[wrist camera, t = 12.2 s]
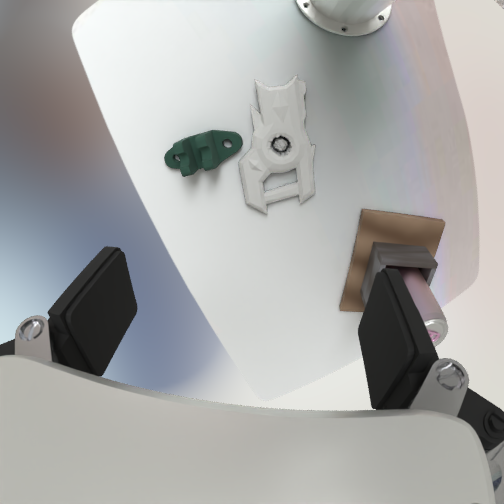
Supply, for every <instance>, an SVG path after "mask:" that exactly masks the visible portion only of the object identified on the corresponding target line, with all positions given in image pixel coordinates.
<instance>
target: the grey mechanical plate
mask: <svg viewBox="0 0 504 504" xmlns="http://www.w3.org/2000/svg"><path fill="white" fill-rule="evenodd" d="M255 85H256V91H257V96H258V102H259V108H260V113H259V112H258V111H257V110H256V109H255V108H254V107H253V106H252V105H250V107H251V113H252V119H253V126H254V133H253V136H252V146H251V148H250V149H249V151H248V152H247V153H246V154H245V155H244V156H243V157H242V158H241V159H240V160H239V169H240V174H241V179H242V184H243V190H244V195H245V200H246V204H248V205H250V206H252V207H254V208H256V209H258V210H259V211H261V212H263V213H265V214H267V205H266V204H269V203H272V202H275V201H279V200H282V199H286V198H290V197H293V196H297V195H299V201H300V204H301V203H302V202H304V201H305V200H306V199H308V198H309V197H311V196H312V195H313V194H315V185H314V174H313V158H314V153H315V147H316V145H315V144H314V145H312V146H311V144H310V140H309V138H308V135H307V133H306V130H305V127H304V120H305V118H306V110H305V102H304V95H305V93H306V84H305V81H303V80H298V76H297V75H296V76H295V77H294V78H293V79H291V80H290V81H289V82H288V83H287V84H286V85H282V86H274V87H268V86H266V85H264V84H262V83H261V82H259V81H257V80H255ZM280 135H281V136H283V137H284V136H285V138H288V140H289V142H290V145H289V147H290V148H288V149H287V151H284V152H282V150H285V148H287V147H286V146H287V145H288V144H287V141H285V140H284V139H283V138H278V137H279V136H280ZM275 137H276V138H278V139H276V141H275V142H274V147H275V148H277V149H278V151H280V152H278V151H275V149H274V148H273V147H272V146H271V145H272V144H271V141H273V139H274V138H275ZM295 168H296V173H297V182H294V183H291V184H287V185H284V186H281V187H277V188H274V189H271V190H268V191H265V192H264V186H263V181H264V180H265V179H266V178H267V177H268V176H269V175H270V174H271V173H285V172H287V171H290V170H292V169H295Z"/></svg>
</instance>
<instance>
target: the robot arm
mask: <svg viewBox="0 0 504 504" xmlns="http://www.w3.org/2000/svg"><path fill="white" fill-rule="evenodd" d="M395 1H396V0H296V2H297V4H298V7H299V8H300V10H301V11H302V12H303V14H304V15H305V16H306V17H307V18H308V19H309V20H310V21H312V22H313V23H314V24H316V25H317V26H319V27H321V28H323V29H325V30H326V31H329V32H332V33H335V34H339V35H344V36H362V35H366V34H369V33H372V32H374V31H376V30H378V29H379V28H380V27H382V26H383V25H384V24H385V23H386V22H387V20H388V18H389V16H390V14H391V9H392V3H394V2H395ZM495 1H496V2H497V3H498V4H499V5H500V6H501V7H502V8H503V9H504V0H495ZM304 6H307V7H308V8H304ZM378 18H380V19H381V21H380V20H379V19H378ZM342 28H343V29H345V31H342ZM136 312H137V303H136V299H135V295H134V291H133V288H132V284H131V280H130V275H129V271H128V267H127V262H126V258H125V254H124V252H122V251H121V250H120V248H118V247H104V248H103V249H102V250H101V251H100V252H99V253H98V254H97V256H96V257H95V258H94V259H93V260H92V261H91V262H90V263H89V264H88V265H87V266H86V268H85V269H84V270H83V271H82V272H81V273H80V274H79V275H78V276H77V278H76V279H75V280H74V281H73V282H72V283H71V284H70V286H69V287H68V288H67V289H66V290H65V291H64V293H63V294H62V295H61V296H60V297H59V299H58V300H57V301H56V302H55V303H54V305H53V306H52V307H51V308H50V310H49V311H48V314H49V316H50V318H49V319H48V321H47V320H46V318H45V317H43V316H31V317H29V318H27V319H25V320H24V321H23V322H22V323H21V324H20V325H19V326H18V328H17V330H16V334H15V339H13V340H11V341H8V342H6V343H3V344H1V345H0V504H504V412H503V411H502V410H501V409H500V408H498V407H497V406H495V405H494V404H492V403H491V402H489V401H487V400H486V399H485V398H483V397H481V396H480V395H479V394H477V393H476V392H474V391H472V390H471V389H469V388H468V384H469V378H468V374H467V372H466V370H465V368H464V367H463V366H462V365H461V364H460V363H458V362H457V361H455V360H452V359H448V358H443V359H439V358H438V355H437V352H436V350H435V347H434V345H433V342H432V340H431V338H430V335H429V333H428V331H427V328H426V326H425V324H424V321H423V319H422V317H421V315H420V312H419V310H418V308H417V307H416V305H415V303H414V301H413V299H412V296H411V294H410V292H409V290H408V288H407V286H406V284H405V282H404V280H403V278H402V276H401V274H400V272H399V270H398V269H388V268H383V269H382V270H381V272H377V273H376V275H375V279H374V282H373V285H372V288H371V292H370V295H369V298H368V301H367V304H366V307H365V310H364V313H363V316H362V319H361V322H360V324H359V328H358V336H359V341H360V346H361V351H362V356H363V361H364V365H365V371H366V377H367V382H368V388H369V394H370V400H371V406H372V408H373V409H376V410H360V411H315V410H289V409H288V410H287V409H273V408H261V407H251V406H242V405H233V404H225V403H218V402H211V401H204V400H198V399H192V398H187V397H181V396H176V395H170V394H166V393H161V392H157V391H152V390H148V389H144V388H139V387H135V386H131V385H127V384H123V383H120V382H116V381H112V380H109V379H105V378H102V377H99V376H102V375H103V374H104V372H105V370H106V368H107V366H108V364H109V363H110V360H111V359H112V357H113V355H114V353H115V351H116V349H117V348H118V345H119V344H120V342H121V340H122V338H123V336H124V335H125V333H126V331H127V329H128V327H129V326H130V324H131V322H132V320H133V318H134V317H135V315H136Z"/></svg>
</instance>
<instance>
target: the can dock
mask: <svg viewBox="0 0 504 504" xmlns="http://www.w3.org/2000/svg"><path fill="white" fill-rule="evenodd" d="M444 226H445V222H444V221H443V220H442V219H435V218H429V217H422V216H415V215H408V214H400V213H393V212H385V211H377V210H368V209H362V211H361V217H360V222H359V227H358V232H357V236H356V241H355V246H354V250H353V255H352V259H351V263H350V267H349V272H348V276H347V280H346V284H345V288H344V291H343V295H342V299H341V303H340V311H352V312H364V310H365V307H366V304H367V301H368V298H369V295H370V292H371V288H372V285H373V282H374V279H375V275H376V273H377V272H381V270H382V269H383V268H385V267H386V265H392V266H405V267H418V269H419V271H420V272H421V274H422V276H423V278H424V279H425V281H426V283H427V284H428V286H430V284H431V281H432V279H433V276H434V273H435V271H436V268H437V266H438V263H437V262H436V261H435V259H434V257H435V254H436V251H437V248H438V245H439V242H440V239H441V236H442V233H443V229H444Z"/></svg>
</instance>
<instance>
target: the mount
mask: <svg viewBox="0 0 504 504" xmlns="http://www.w3.org/2000/svg"><path fill="white" fill-rule="evenodd" d="M225 139H229V140H231V142H232V146H231V147H229V148H227V147H225V146H224V144H223V141H224V140H225ZM241 146H242V138H241V136H240V135H239V134H238V133H236V132H229V131H220V130H211V131H207V132H204V133H200V134H197V135H194V136H190V137H187V138H184V139H182V140H180V141H178V142H176V143H174V144H173V147H172V148H171V149H170V150H169V151H167V153H166V154H165V157H164V159H165V163H166V164H167V166H169V167H170V168H176V169H180V171H181V174H182V176H183V177H185V176H189V175H192V174H194V173H195V172H196V171H197V170H198V169H201V168H204V170H205V171H208V170H212V169H215V168H216V167H217V166H218V165H219V164H220V163H221V162H222V161H224V160H225V159H226V158H228V157H229V156H231V155H232V154H234V153H235V152H237V151H238V150H239V149H240V148H241ZM175 155H177V156H178V157H179V159H180V161H178V160H176V158H175Z"/></svg>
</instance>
